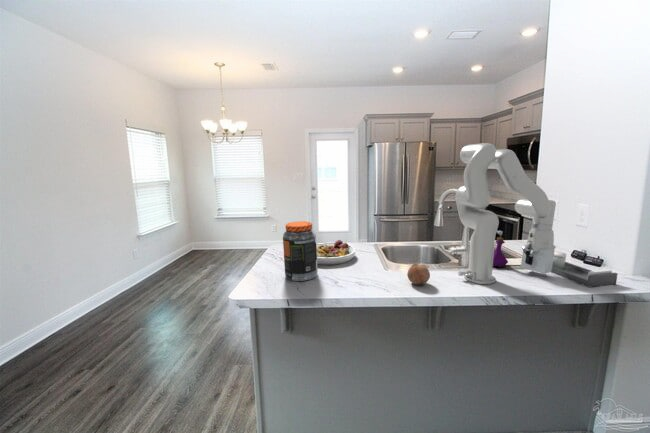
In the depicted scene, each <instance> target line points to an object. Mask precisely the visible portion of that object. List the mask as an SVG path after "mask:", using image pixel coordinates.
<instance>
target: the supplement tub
mask: <svg viewBox="0 0 650 433" xmlns="http://www.w3.org/2000/svg"><path fill="white" fill-rule="evenodd" d="M313 229H314V228H313V224H312V222H311V221H305V220H304V221H302V220H301V221H291V222H287V223H286V224H285V231H284V233H283V234H282V245H283V246H282V247H283V248H282V249H283V257H284V259H283V260H284V275H285V277H286V278H287V279H288V280H289V281H294V282H301V281H302V282H303V281H309V280H313V279H314V278H316V276H317V275H318V264H317V246H316V244H317V234H316V232H315V230H313Z"/></svg>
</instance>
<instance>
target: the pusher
mask: <svg viewBox="0 0 650 433" xmlns="http://www.w3.org/2000/svg"><path fill="white" fill-rule="evenodd" d="M605 273H613V270H611V269H603V270H601V269H600V270H592V271H590V272H588V277H589V275H595V274H605ZM587 280H588V279H587Z"/></svg>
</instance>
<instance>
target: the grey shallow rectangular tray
mask: <svg viewBox="0 0 650 433" xmlns="http://www.w3.org/2000/svg"><path fill="white" fill-rule="evenodd" d="M590 271H593V270H591V269H588V268H585V267H582V266H579V265H577V264H574V263H572V262H571V263H570V262H567V261H565V268H564V269H562V270H560V269H558V268H555V267H552V271H551V272H550V273H553V274H554V275H557V276H560V277H562V278H565V279H567V280H569V281H571V282H576V283H578V284H580V285H583V286H585V287H588V288H597V287H605V286H615V285H617V280H618V279H617V278H618V272H612V273H605V274H595V275H589V277H588V272H590ZM587 279H588V280H587Z"/></svg>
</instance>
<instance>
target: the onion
mask: <svg viewBox="0 0 650 433" xmlns="http://www.w3.org/2000/svg"><path fill="white" fill-rule="evenodd" d="M406 276H407V279H408V280H409V281H410V282H411V283H412V284H414V285H417V286H420V287H421V286H424V285H426V283H428V281H429V280H430V277H431V274H430V270H429V269H428V268H427V267H426V266H425V265H420V264H418V263H413V264H411V267H409V268H408V271H407V275H406Z"/></svg>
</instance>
